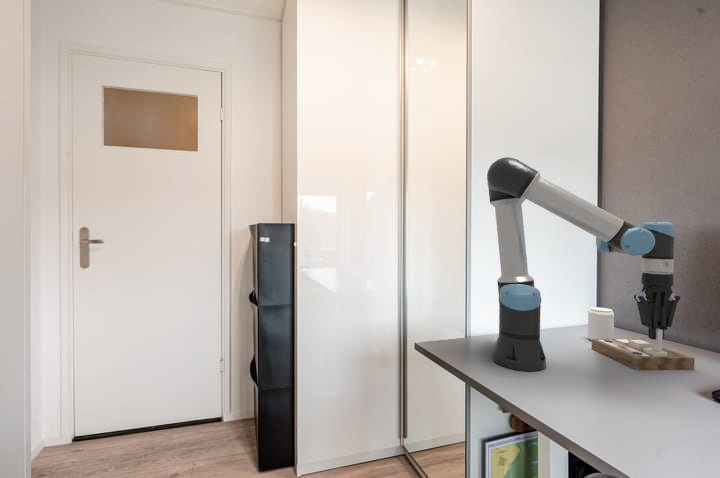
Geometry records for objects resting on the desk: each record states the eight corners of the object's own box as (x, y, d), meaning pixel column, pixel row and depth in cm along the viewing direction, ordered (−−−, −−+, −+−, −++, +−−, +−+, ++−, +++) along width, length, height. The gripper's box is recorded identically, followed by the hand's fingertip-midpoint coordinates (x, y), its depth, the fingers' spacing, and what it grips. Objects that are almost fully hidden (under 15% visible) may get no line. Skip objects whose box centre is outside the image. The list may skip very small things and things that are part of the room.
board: (635, 369, 106) (635, 357, 106) (591, 348, 125) (591, 338, 125) (694, 369, 107) (694, 356, 107) (641, 348, 126) (642, 338, 126)
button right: (654, 363, 108) (654, 352, 108) (643, 359, 112) (643, 348, 112) (667, 363, 108) (667, 352, 108) (655, 359, 112) (655, 348, 112)
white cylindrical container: (618, 344, 131) (619, 311, 131) (596, 343, 131) (597, 311, 131) (604, 337, 139) (604, 306, 139) (583, 337, 139) (583, 306, 139)
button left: (623, 352, 120) (623, 342, 120) (614, 349, 124) (614, 339, 124) (634, 352, 120) (635, 342, 120) (625, 349, 124) (625, 339, 124)
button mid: (638, 354, 114) (638, 343, 114) (628, 350, 118) (628, 339, 118) (650, 354, 114) (650, 343, 114) (639, 349, 118) (640, 339, 118)
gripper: (646, 274, 105) (645, 354, 106) (689, 274, 106) (688, 353, 106) (626, 271, 113) (625, 346, 113) (667, 271, 113) (665, 345, 114)
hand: (655, 349), depth 110 cm, fingers closed
